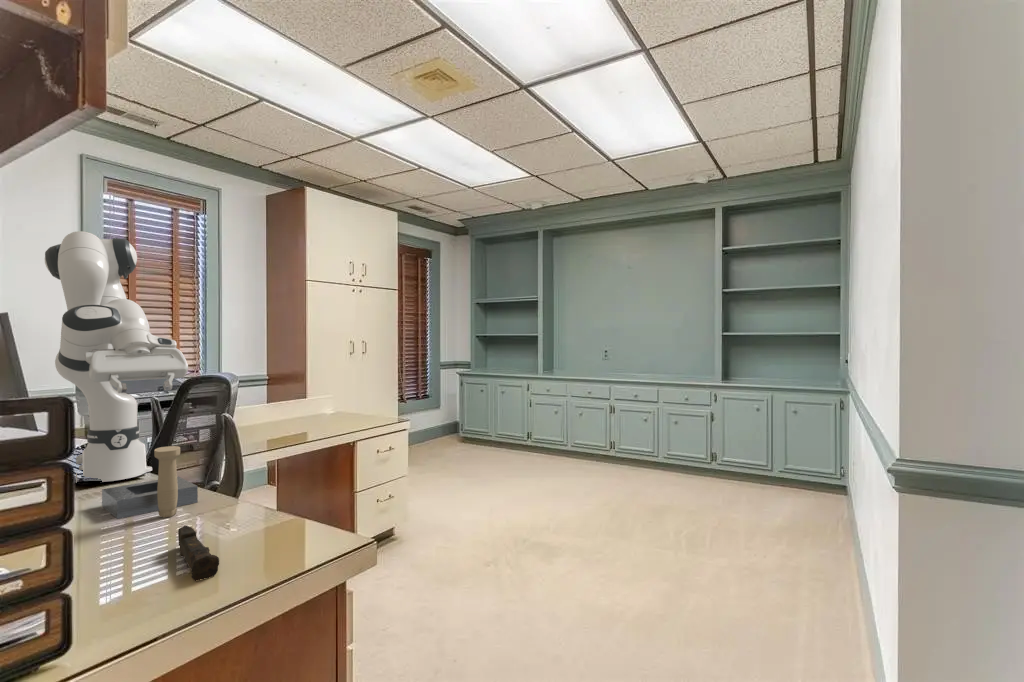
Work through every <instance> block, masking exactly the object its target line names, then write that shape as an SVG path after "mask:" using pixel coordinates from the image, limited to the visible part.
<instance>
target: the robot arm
mask: <svg viewBox="0 0 1024 682" xmlns="http://www.w3.org/2000/svg"><path fill="white" fill-rule="evenodd" d="M137 253H138V252H137V251H136V249H135V247H134V246H133V245H132V244H131V242H130V241H129V240H127V239H125V238H118V237H117V238H116V237H115V238H114V237H113V238H112V239H110V238H103V239H102V238H99V237H98V236H97V235H95V234H94V233H92V232H87V231H83V230H80V231H73V232H70V233H67V235H65V236H64V238H63V239H62V241H61V243H59V244H56V245H52V246H50V247H49V248H47V250H45V252H44V264H45V267H46V269H47V271H48V272H49V273H50V274H51V276H52V277H53V278H55V279H57V280H60V284H61V286H62V287H61V288H62V291H63V296H64V301H65V304H66V308H67V311H65V312H64V313H63V314H62V317H61V318H62V319H61V329H60V330H61V331H60V342H59V343H60V345H59V351H58V352H57V354H56V357H55V360H54V362H55V363H54V367H55V369H56V371H57V373H58V374H59V375H60V376H61V377H62V378H63V379H64V380H65V381H69V382H70V383H71V384H73V385H74V386H76V387H77V388H78V389H79V391H81V392H82V394H83V395H84V397H85V400H86V402H87V406H88V414H89V415H88V417H89V429H87V435H86V437H87V445H86V447H85V448H84V450H83V451H82V454H79V455H77V456H76V457H75V463H76V464H75V465H78V469H79V470H83V476H85V477H91V478H98V479H101V480H102V482H101V483H104V482H114V481H121V480H125V479H126V480H128V479H131V478H136V477H139V476H141V475H143V474H145V473H148V472H151V471H153V467H152V466H150V465H149V466H148V465H147V455H146V454H147V453H146V445H145V443H143V442H142V441H141V440H140V439H139V438H140V432H141V431H140V426H139V425H138V402H137V400H136V398H135V397H134V396H133V395H132V394H129V393H127V391H128V387H127V383H126V381H128V382H129V381H143V380H146V381H147V380H148V381H149V380H163V379H164V382H163V385H162V387H163V389H164V391H171V390H172V389H173V381H174V379H183V378H185V376H186V375H187V373H188V370H189V364H188V361H187V359H186V357H185V355H184V354H183V352H182V351H181V350H180V349H179V348H177V345H178V344H177V341H176V340H174V339H172V338H170V339H169V338H165V337H162V336H157V335H154V334H152V332H151V329H150V324H149V323H150V322H149V321H148V317H147V315H146V314H145V311H144V309H143V308H142V306H141V305H140V304H138V303H137V302H135V301H134V300H131V299H127V295H126V292H125V289H124V287H123V285H122V283H121V278H122V277H123V279H124V280H126V279H128V278H129V275H130V274H132V273H133V272H134V271H135V269H136V267H137V263H138V254H137ZM165 379H166V380H165ZM124 381H125V382H124ZM76 484H77V473H76Z"/></svg>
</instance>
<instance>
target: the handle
mask: <svg viewBox="0 0 1024 682" xmlns="http://www.w3.org/2000/svg"><path fill="white" fill-rule="evenodd" d="M153 453H154V455H153V456H154V458H156V459H157V460H158V477H157V480H158V487H157V499H158V508H159V510H158V516H159V517H160V518H163V519H164V518H171V517H173V516H175V515H176V514H177V510H178V507H177V499H178V492H177V491H178V489H177V488H178V483H177V477H178V471H177V470H178V468H177V457H179V456H180V455H181V446H178V445H168V446H161V447H157V448H155V449H154V452H153Z"/></svg>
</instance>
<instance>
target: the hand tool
mask: <svg viewBox="0 0 1024 682" xmlns="http://www.w3.org/2000/svg"><path fill="white" fill-rule="evenodd" d="M177 531H178V532H177V534H178V535H177V538H178V540H177V541H178V546H179V556H180V557H181V556H183V557H182V558H183V559H184V560H185V562H186V563H187V566H188V567H189V568H188V569H190V570H191V576H190V577H191V579H192V580H193V581H195V582H197V581H196V580H199V581H201V580H200V579H203V580H205V579H204V578H207V579H210V578H213V577H215V576H216V575H217V573H218V570H219V565H220V558H219V557H218V556H217V555H214V554H211V553H210V547H208V546H204V544H203V543H202V542H201V540H199V539H198V537H197V532H196V530H195V529H194V528H193V527H192V526H191V527H190V526H188V525H184V526H181V527H179V528H178V530H177ZM212 576H213V577H212ZM209 577H210V578H209Z"/></svg>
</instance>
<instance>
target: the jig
mask: <svg viewBox="0 0 1024 682" xmlns="http://www.w3.org/2000/svg"><path fill="white" fill-rule="evenodd" d="M177 483H178V488H177V489H178V491H177V492H178V499H177V507H176V508H178V507H181V506H186V505H191V504H197V503H198V500H199V499H198V497H199V496H198V491H199V489H198V488H199V487H198V485H197V484H195V483H192V482H191V481H188V480H187V479H185V478H182V477H180V476H178V475H177ZM157 487H158V479H156V480H155V479H154V480H149V481H143V482H136V483H131V484H127V485H119V486H113V487H108V488H102V489H101V506H102V508H104V509H105V510H106V511H107V512H109V513H110V514H111V515H112V517H114V518H116V520H118V519H119V520H120V519H125V518H128V517H133V516H139V515H142V514H148V513H153V512H159V511H160V510H159V508H158V499H157Z"/></svg>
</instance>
